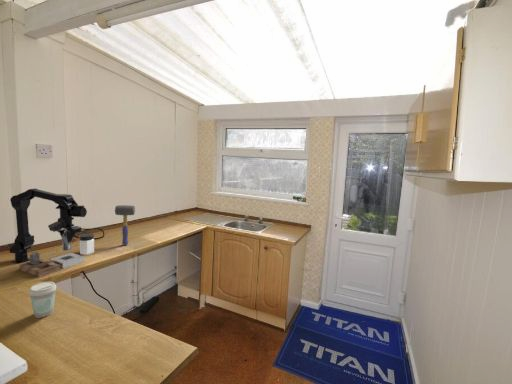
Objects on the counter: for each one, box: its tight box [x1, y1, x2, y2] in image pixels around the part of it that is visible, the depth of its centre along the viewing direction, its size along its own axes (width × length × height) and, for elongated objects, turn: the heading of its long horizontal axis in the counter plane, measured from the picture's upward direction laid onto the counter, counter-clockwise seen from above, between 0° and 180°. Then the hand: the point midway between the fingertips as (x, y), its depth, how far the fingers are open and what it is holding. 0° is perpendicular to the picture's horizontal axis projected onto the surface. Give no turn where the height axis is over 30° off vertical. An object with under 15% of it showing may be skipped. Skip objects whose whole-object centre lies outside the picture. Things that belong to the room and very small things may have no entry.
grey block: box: [61, 230, 72, 251], centre depth 149 cm, size 4×4×12 cm
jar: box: [78, 233, 95, 256], centre depth 167 cm, size 9×8×12 cm
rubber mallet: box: [114, 204, 136, 246], centre depth 185 cm, size 12×8×30 cm, turn 106°
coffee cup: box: [28, 281, 57, 319], centre depth 102 cm, size 8×8×12 cm
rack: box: [18, 251, 61, 278], centre depth 139 cm, size 18×10×9 cm, turn 68°
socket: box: [49, 252, 85, 269], centre depth 151 cm, size 12×12×3 cm
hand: (66, 241), depth 150 cm, fingers closed on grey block, 4 cm apart
